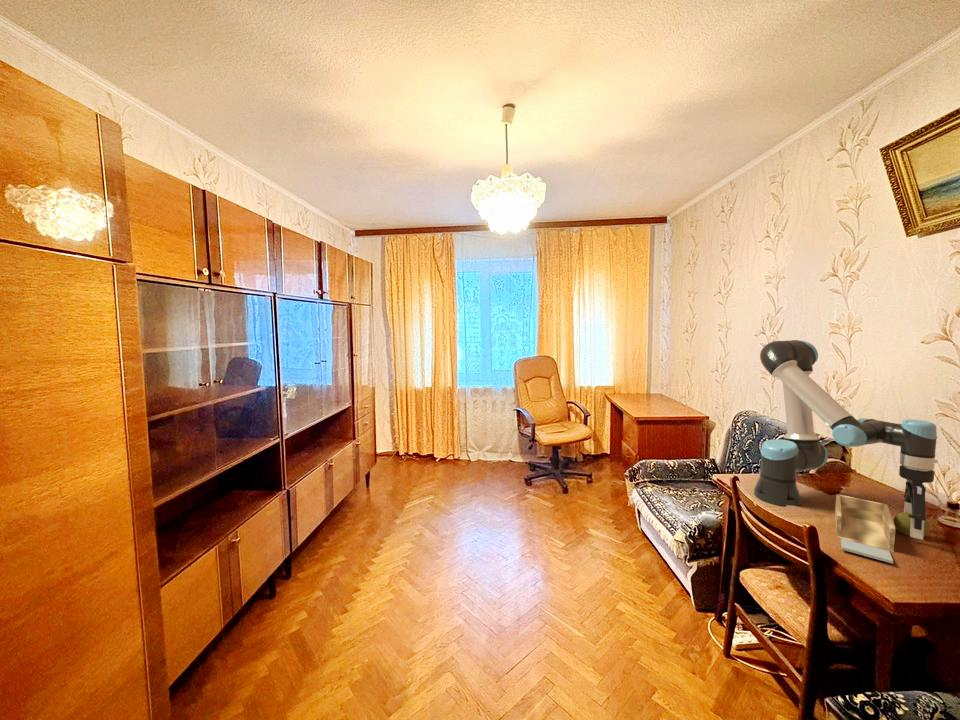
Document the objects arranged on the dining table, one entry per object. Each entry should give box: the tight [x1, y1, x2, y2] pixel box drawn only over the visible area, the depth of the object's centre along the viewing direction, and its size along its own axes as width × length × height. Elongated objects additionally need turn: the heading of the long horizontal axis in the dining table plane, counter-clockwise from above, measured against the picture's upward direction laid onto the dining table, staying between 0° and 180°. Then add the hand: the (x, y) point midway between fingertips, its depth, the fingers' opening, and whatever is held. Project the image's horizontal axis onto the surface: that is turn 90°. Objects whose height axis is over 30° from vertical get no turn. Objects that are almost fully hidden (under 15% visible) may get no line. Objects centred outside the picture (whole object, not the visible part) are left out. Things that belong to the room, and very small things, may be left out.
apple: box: [893, 512, 931, 538], centre depth 127 cm, size 8×8×7 cm
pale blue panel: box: [840, 538, 894, 565], centre depth 117 cm, size 11×1×9 cm
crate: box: [834, 493, 896, 553], centre depth 129 cm, size 13×22×8 cm, turn 138°
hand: (912, 529), depth 126 cm, fingers open, 13 cm apart
